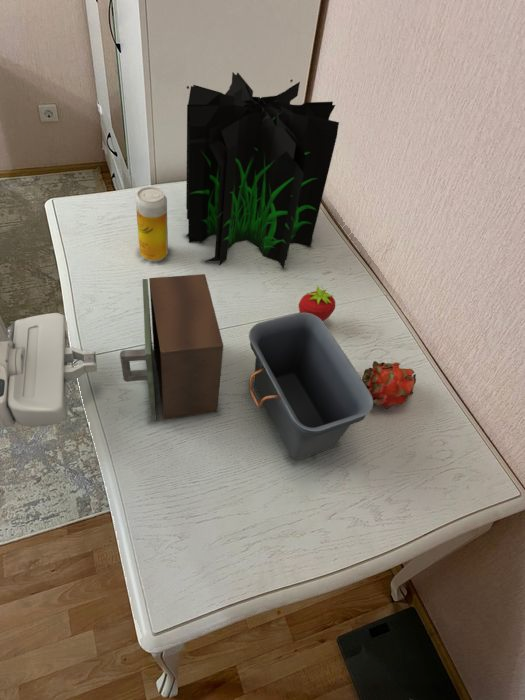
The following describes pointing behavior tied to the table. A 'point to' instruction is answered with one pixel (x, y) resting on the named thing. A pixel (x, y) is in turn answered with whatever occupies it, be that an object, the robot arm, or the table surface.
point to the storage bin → (306, 383)
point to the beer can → (152, 223)
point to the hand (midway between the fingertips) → (96, 361)
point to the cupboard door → (142, 356)
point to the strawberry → (317, 304)
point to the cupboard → (185, 345)
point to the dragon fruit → (389, 383)
